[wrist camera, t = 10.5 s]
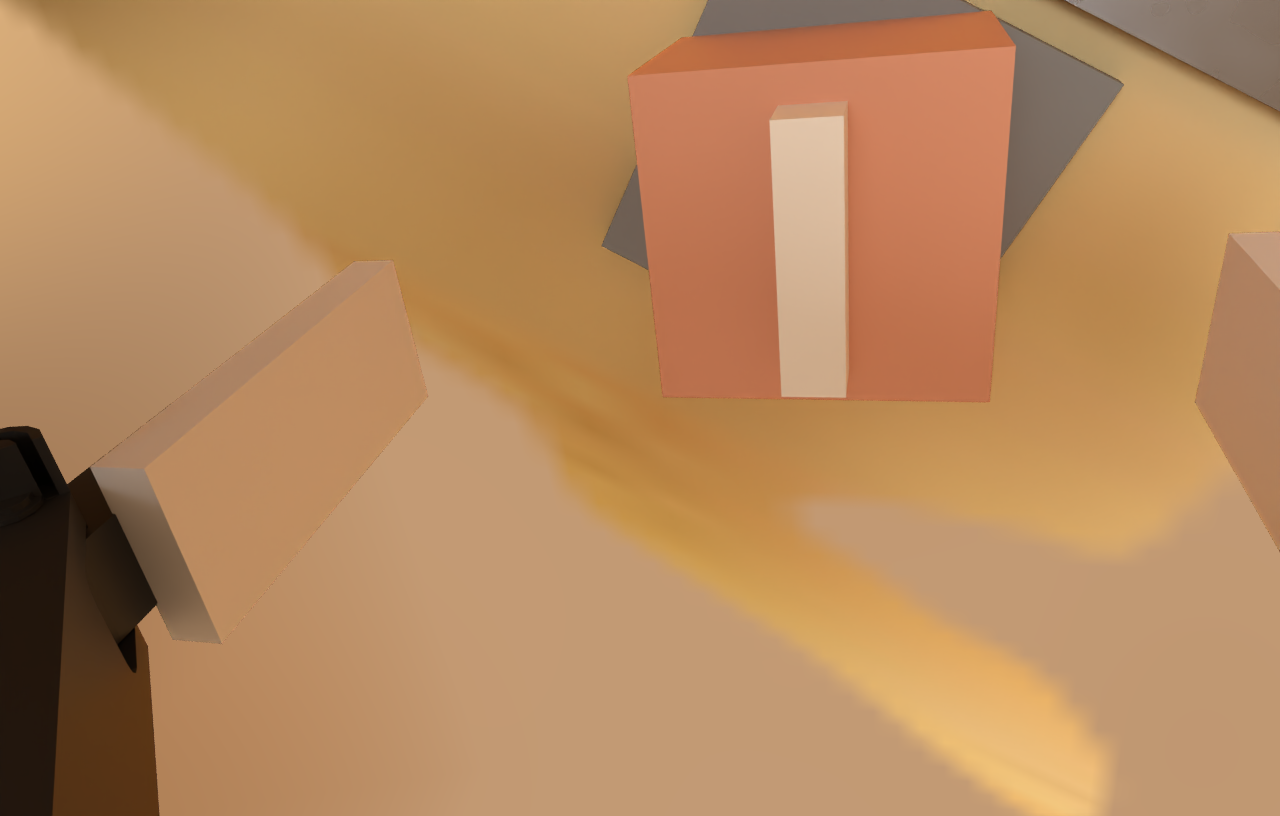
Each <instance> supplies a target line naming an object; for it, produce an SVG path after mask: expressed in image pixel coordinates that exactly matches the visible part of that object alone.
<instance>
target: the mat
mask: <svg viewBox="0 0 1280 816" xmlns="http://www.w3.org/2000/svg"><path fill="white" fill-rule="evenodd" d="M982 11H984V10H982V9H980V8H978V7H976V6H974V5H972V4H970V3H968V2H966V1H964V0H708V2H707V4H706V7H705V9H704V11H703V13H702V16H701V18H700V20H699V23H698V25H697V27H696V30H695V32H694V34H693V36H692V37H694V36H705V35H717V34H728V33H740V32H751V31H763V30H774V29H786V28H797V27H809V26H820V25H832V24H843V23H855V22H866V21H878V20H890V19H901V18H913V17H924V16H936V15H947V14H959V13H970V12H982ZM996 18H997V17H996ZM997 19H998V21H999V22H1000V24H1001V25H1002V27H1003V28H1004V30H1005V31H1006V32H1007V34H1008V35H1009V37H1010V38H1011V40H1012V41H1013V43H1014V44H1015V45H1016V52H1015V66H1014V79H1013V93H1012V106H1011V120H1010V133H1009V147H1008V160H1007V174H1006V188H1005V201H1004V215H1003V228H1002V242H1001V255H1000V259H1001V257H1002V256H1003V255H1004V253H1005V252H1006V250H1007V249H1008V248H1009V246H1010V245H1011V243H1012V242H1013V240H1014V239H1015V238H1016V236H1017V235H1018V233H1019V232H1020V231H1021V229H1022V228H1023V226H1024V225H1025V224H1026V222H1027V221H1028V219H1029V218H1030V217H1031V215H1032V214H1033V212H1034V211H1035V209H1036V208H1037V207H1038V205H1039V204H1040V202H1041V201H1042V200H1043V198H1044V197H1045V195H1046V194H1047V193H1048V191H1049V190H1050V188H1051V187H1052V186H1053V184H1054V183H1055V181H1056V180H1057V178H1058V177H1059V176H1060V174H1061V173H1062V171H1063V170H1064V169H1065V167H1066V166H1067V164H1068V163H1069V162H1070V160H1071V159H1072V157H1073V156H1074V155H1075V153H1076V152H1077V150H1078V149H1079V147H1080V146H1081V145H1082V143H1083V142H1084V140H1085V139H1086V138H1087V136H1088V135H1089V133H1090V132H1091V131H1092V129H1093V128H1094V126H1095V125H1096V124H1097V122H1098V121H1099V119H1100V118H1101V116H1102V115H1103V114H1104V112H1105V111H1106V109H1107V108H1108V107H1109V105H1110V104H1111V102H1112V101H1113V100H1114V98H1115V97H1116V95H1117V94H1118V93H1119V91H1120V90H1121V88H1122V87H1123V85H1124V84H1123V83H1121V82H1120V81H1119V80H1117V79H1116V78H1114V77H1112V76H1110V75H1108V74H1106V73H1104V72H1102V71H1100V70H1098V69H1096V68H1094V67H1092V66H1090V65H1088V64H1086V63H1085V62H1083V61H1081V60H1079V59H1077V58H1075V57H1073V56H1071V55H1069V54H1067V53H1065V52H1063V51H1061V50H1059V49H1057V48H1055V47H1054V46H1052V45H1050V44H1048V43H1046V42H1044V41H1042V40H1040V39H1038V38H1036V37H1034V36H1032V35H1030V34H1028V33H1026V32H1024V31H1023V30H1021V29H1019V28H1017V27H1015V26H1013V25H1011V24H1009V23H1007V22H1005V21H1003V20H1001V19H999V18H997ZM602 246H603V247H605V248H607V249H608V250H610V251H612V252H614V253H616V254H618V255H620V256H622V257H624V258H626V259H628V260H630V261H632V262H634V263H636V264H638V265H640V266H642V267H644V268H646V269H647V270H649V267H648V258H647V249H646V240H645V231H644V222H643V212H642V203H641V194H640V185H639V176H638V167H637V165H636V168H635V170H634V172H633V175H632V177H631V179H630V181H629V184H628V186H627V188H626V191H625V193H624V195H623V198H622V200H621V202H620V204H619V207H618V209H617V211H616V214H615V216H614V218H613V221H612V223H611V225H610V227H609V230H608V232H607V234H606V237H605V239H604V241H603V244H602Z"/></svg>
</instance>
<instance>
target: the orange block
mask: <svg viewBox="0 0 1280 816" xmlns="http://www.w3.org/2000/svg"><path fill="white" fill-rule="evenodd" d="M1015 52H1016V45H1015V44H1014V43H1013V41H1012V40H1011V38H1010V37H1009V35H1008V34H1007V32H1006V31H1005V30H1004V28H1003V27H1002V25H1001V24H1000V22H999V21H998V19H997V18H996V16H995V15H994V14H993V12H992V11H982V12H970V13H959V14H947V15H936V16H924V17H913V18H901V19H890V20H878V21H866V22H855V23H843V24H832V25H820V26H809V27H797V28H786V29H774V30H763V31H751V32H740V33H728V34H717V35H705V36H694V37H682V38H680V39H679V40H678V41H676V42H675V43H673V44H672V45H671V46H669V47H668V48H666V49H665V50H663V51H662V52H661V53H659V54H658V55H656V56H655V57H654V58H652V59H651V60H649V61H648V62H647V63H645V64H644V65H642V66H641V67H639V68H638V69H637V70H635V71H634V72H632V73H631V74H630V75H628V85H629V94H630V103H631V112H632V122H633V131H634V140H635V149H636V158H637V167H638V176H639V185H640V194H641V203H642V212H643V222H644V231H645V240H646V249H647V258H648V267H649V276H650V285H651V294H652V303H653V312H654V322H655V331H656V340H657V349H658V358H659V367H660V376H661V385H662V394H663V397H690V398H754V399H818V400H882V401H946V402H990V391H991V377H992V364H993V350H994V337H995V323H996V310H997V296H998V283H999V269H1000V255H1001V242H1002V228H1003V215H1004V201H1005V188H1006V174H1007V160H1008V147H1009V133H1010V120H1011V106H1012V93H1013V79H1014V66H1015Z"/></svg>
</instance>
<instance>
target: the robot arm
mask: <svg viewBox="0 0 1280 816" xmlns="http://www.w3.org/2000/svg"><path fill="white" fill-rule="evenodd" d="M427 397H428V394H427V390H426V386H425V383H424V379H423V375H422V371H421V367H420V363H419V359H418V355H417V351H416V348H415V344H414V340H413V336H412V332H411V328H410V324H409V320H408V317H407V313H406V309H405V305H404V301H403V297H402V293H401V289H400V286H399V282H398V278H397V274H396V270H395V266H394V262H393V260H380V261H354V262H353V263H351V264H350V265H349V266H347V267H346V268H345V269H344V270H342V271H341V272H340V273H338V274H337V275H336V276H335V277H333V278H332V279H331V280H330V281H328V282H327V283H326V284H324V285H323V286H322V287H321V288H319V289H318V290H317V291H315V292H314V293H313V294H312V295H310V296H309V297H308V298H306V299H305V300H304V301H303V302H301V303H300V304H299V305H297V306H296V307H295V308H294V309H292V310H291V311H290V312H288V313H287V314H286V315H285V316H283V317H282V318H281V319H279V320H278V321H277V322H276V323H274V324H273V325H272V326H271V327H269V328H268V329H267V330H265V331H264V332H263V333H262V334H260V335H259V336H258V337H256V338H255V339H254V340H252V341H251V342H250V343H249V344H247V345H246V346H245V347H243V348H242V349H241V350H240V351H238V352H237V353H236V354H235V355H233V356H232V357H231V358H229V359H228V360H227V361H225V362H224V363H223V364H222V365H220V366H219V367H218V368H216V369H215V370H214V371H213V372H211V373H210V374H209V375H207V376H206V377H205V378H204V379H202V380H201V381H200V382H199V383H197V384H196V385H195V386H193V387H192V388H191V389H190V390H188V391H187V392H186V393H185V394H183V395H182V396H181V397H179V398H178V399H177V400H175V401H174V402H173V403H172V404H170V405H169V406H167V407H166V408H165V409H164V410H162V411H161V412H160V413H158V414H157V415H156V416H154V417H153V418H152V419H151V420H149V421H148V422H147V423H146V424H145V425H143V426H142V427H140V428H139V429H138V430H137V431H135V432H134V433H133V434H131V435H130V436H129V437H128V438H127V439H126V440H124V441H123V442H121V443H120V444H119V445H117V446H116V447H115V448H113V449H112V450H111V451H110V452H108V453H107V454H106V455H105V456H103V457H102V458H101V459H99V460H98V461H97V462H96V463H94V464H93V465H92V466H90V467H89V468H88V469H86V470H85V471H84V472H83V473H81V474H80V475H79V476H77V477H76V478H75V479H74V480H72V481H71V482H70V483H69V484H66V482H65V480H64V478H63V476H62V474H61V472H60V470H59V468H58V466H57V464H56V462H55V460H54V458H53V456H52V454H51V452H50V450H49V448H48V446H47V444H46V442H45V440H44V438H43V436H42V434H41V432H40V430H39V429H36V428H33V427H29V426H18V427H7V428H3V429H0V816H159V802H158V788H157V773H156V758H155V744H154V729H153V714H152V700H151V685H150V671H149V657H148V646H147V644H146V642H145V640H144V638H143V636H142V634H141V632H140V630H139V628H138V626H137V624H138V623H139V622H140V621H141V620H142V619H143V618H144V617H145V616H146V615H147V614H148V613H149V612H150V611H151V610H152V608H154V607H155V606H157V608H158V610H159V612H160V614H161V616H162V618H163V620H164V622H165V624H166V627H167V629H168V631H169V633H170V635H171V637H172V639H173V640H183V641H195V642H206V643H218V644H222V643H223V642H224V641H225V640H226V638H227V637H228V636H229V635H230V634H231V632H232V631H233V630H234V629H235V628H236V626H237V625H238V624H239V623H240V621H242V619H243V618H244V617H245V616H246V614H247V613H248V612H249V611H250V610H251V609H252V607H253V606H254V605H255V604H256V603H257V601H258V600H259V599H260V598H261V597H262V595H263V594H264V593H265V592H266V591H267V589H268V588H269V587H270V586H271V585H272V583H273V582H274V581H275V580H276V579H277V577H278V576H279V575H280V574H281V572H282V571H283V570H284V569H285V568H286V566H287V565H288V564H289V563H290V562H291V560H292V559H293V558H294V557H295V556H296V554H297V553H298V552H299V551H300V550H301V548H302V547H303V546H304V545H305V544H306V542H307V541H308V540H309V539H310V538H311V536H312V535H313V534H314V533H315V532H316V530H317V529H318V528H319V527H320V526H321V524H322V523H323V522H324V521H325V520H326V518H327V517H328V516H329V515H330V513H331V512H332V511H333V510H334V509H335V508H336V506H337V505H338V504H339V503H340V502H341V500H342V499H343V498H344V497H345V495H346V494H347V493H348V492H349V491H350V490H351V488H352V487H353V486H354V485H355V484H356V482H357V481H358V480H359V479H360V478H361V476H362V475H363V474H364V473H365V471H366V470H367V469H368V468H369V467H370V466H371V464H372V463H373V462H374V461H375V460H376V458H377V457H378V456H379V455H380V454H381V452H382V451H383V450H384V449H385V447H386V446H387V445H388V444H389V443H390V441H391V440H392V439H393V437H395V435H396V434H397V433H398V432H399V431H400V429H401V428H402V427H403V426H404V425H405V423H406V422H407V421H408V420H409V419H410V417H411V416H412V415H413V414H414V413H415V411H416V410H417V409H418V408H419V407H420V405H421V404H422V403H423V402H424V401H425V399H426V398H427ZM1195 403H1196V405H1197V406H1198V408H1199V410H1200V412H1201V414H1202V415H1203V417H1204V419H1205V421H1206V422H1207V424H1208V426H1209V428H1210V429H1211V431H1212V433H1213V435H1214V437H1215V438H1216V440H1217V442H1218V444H1219V445H1220V447H1221V449H1222V451H1223V452H1224V454H1225V456H1226V458H1227V460H1228V461H1229V463H1230V465H1231V467H1232V468H1233V470H1234V472H1235V474H1236V475H1237V477H1238V479H1239V481H1240V483H1241V484H1242V486H1243V488H1244V490H1245V491H1246V493H1247V495H1248V497H1249V498H1250V500H1251V502H1252V504H1253V505H1254V507H1255V509H1256V511H1257V513H1258V514H1259V516H1260V518H1261V520H1262V521H1263V523H1264V525H1265V527H1266V529H1267V530H1268V532H1269V534H1270V536H1271V537H1272V539H1273V541H1274V543H1275V544H1276V546H1277V548H1278V550H1279V552H1280V232H1255V233H1229V235H1228V240H1227V245H1226V250H1225V255H1224V260H1223V265H1222V270H1221V275H1220V280H1219V285H1218V290H1217V295H1216V300H1215V305H1214V310H1213V315H1212V320H1211V325H1210V330H1209V335H1208V340H1207V345H1206V350H1205V355H1204V360H1203V365H1202V370H1201V375H1200V380H1199V385H1198V390H1197V395H1196V400H1195Z"/></svg>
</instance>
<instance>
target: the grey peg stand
mask: <svg viewBox="0 0 1280 816" xmlns="http://www.w3.org/2000/svg"><path fill="white" fill-rule="evenodd" d="M1065 1H1067V2H1069V3H1071V4H1073V5H1075V6H1077V7H1079V8H1081V9H1082V10H1084V11H1086V12H1088V13H1090V14H1092V15H1094V16H1096V17H1098V18H1100V19H1102V20H1104V21H1106V22H1108V23H1110V24H1112V25H1113V26H1115V27H1117V28H1119V29H1121V30H1123V31H1125V32H1127V33H1129V34H1131V35H1133V36H1135V37H1137V38H1139V39H1141V40H1143V41H1144V42H1146V43H1148V44H1150V45H1152V46H1154V47H1156V48H1158V49H1160V50H1162V51H1164V52H1166V53H1168V54H1170V55H1172V56H1173V57H1175V58H1177V59H1179V60H1181V61H1183V62H1185V63H1187V64H1189V65H1191V66H1193V67H1195V68H1197V69H1199V70H1201V71H1203V72H1204V73H1206V74H1208V75H1210V76H1212V77H1214V78H1216V79H1218V80H1220V81H1222V82H1224V83H1226V84H1228V85H1230V86H1232V87H1233V88H1235V89H1237V90H1239V91H1241V92H1243V93H1245V94H1247V95H1249V96H1251V97H1253V98H1255V99H1257V100H1259V101H1261V102H1263V103H1264V104H1266V105H1268V106H1270V107H1272V108H1274V109H1276V110H1278V111H1280V0H1065Z"/></svg>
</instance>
